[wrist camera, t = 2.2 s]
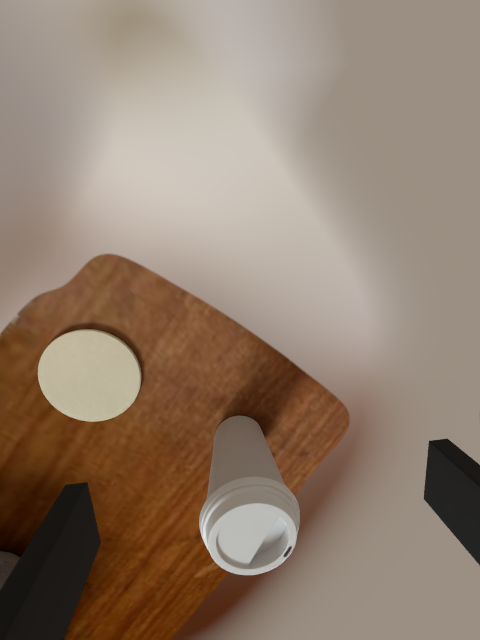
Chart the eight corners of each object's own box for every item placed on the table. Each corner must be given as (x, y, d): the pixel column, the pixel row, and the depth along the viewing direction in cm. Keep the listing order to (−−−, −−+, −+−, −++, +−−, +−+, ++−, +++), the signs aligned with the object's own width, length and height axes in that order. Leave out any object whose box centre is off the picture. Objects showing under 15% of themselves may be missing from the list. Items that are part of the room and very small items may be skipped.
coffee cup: (235, 478, 42) (247, 598, 28) (188, 436, 40) (175, 542, 26) (286, 437, 42) (327, 538, 27) (242, 391, 39) (259, 474, 25)
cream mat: (126, 319, 36) (124, 320, 35) (152, 407, 39) (151, 409, 38) (25, 340, 35) (22, 342, 35) (59, 428, 38) (57, 430, 38)
